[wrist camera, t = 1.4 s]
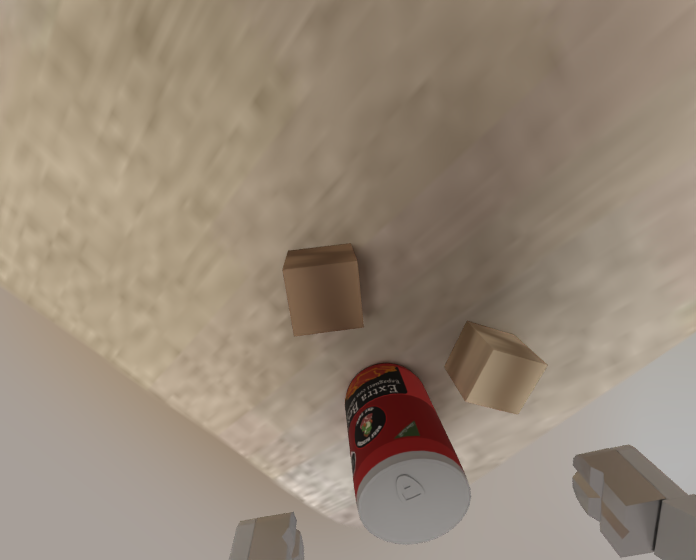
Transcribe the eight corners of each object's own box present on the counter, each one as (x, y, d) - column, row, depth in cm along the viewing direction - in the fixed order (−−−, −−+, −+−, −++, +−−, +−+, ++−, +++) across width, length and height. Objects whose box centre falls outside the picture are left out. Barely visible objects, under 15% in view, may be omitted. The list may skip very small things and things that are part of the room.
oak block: (443, 366, 32) (465, 401, 28) (466, 320, 31) (493, 349, 26) (489, 378, 33) (518, 414, 29) (513, 334, 32) (547, 365, 27)
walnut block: (297, 307, 29) (294, 336, 24) (288, 250, 27) (282, 269, 23) (356, 300, 29) (363, 327, 25) (350, 243, 28) (357, 260, 23)
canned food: (388, 344, 31) (424, 438, 21) (440, 395, 34) (495, 502, 23) (326, 395, 32) (331, 508, 22) (380, 441, 35) (408, 561, 24)
